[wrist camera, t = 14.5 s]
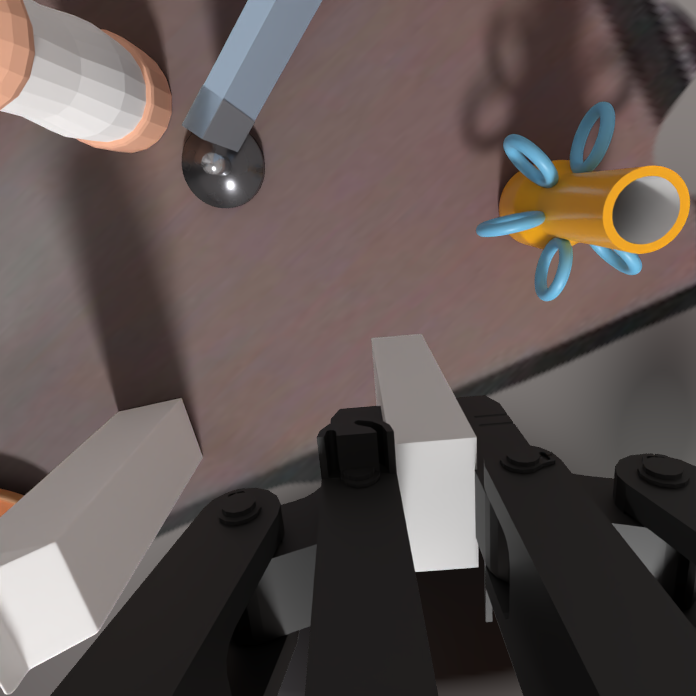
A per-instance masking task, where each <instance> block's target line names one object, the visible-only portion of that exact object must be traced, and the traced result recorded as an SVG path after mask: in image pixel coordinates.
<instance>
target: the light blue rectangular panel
mask: <svg viewBox="0 0 696 696" xmlns="http://www.w3.org/2000/svg"><path fill="white" fill-rule="evenodd" d="M321 2H322V0H248V1H247V3H246V5H245V7H244V9H243V11H242V13H241V15H240V16H239V18H238V20H237V22H236V24H235V26H234V28H233V30H232V32H231V34H230V36H229V38H228V39H227V41H226V43H225V45H224V47H223V49H222V51H221V53H220V55H219V57H218V59H217V61H216V62H215V64H214V66H213V68H212V70H211V72H210V74H209V76H208V78H207V80H206V82H205V83H204V85H202V87H201V89H200V91H199V93H198V95H197V97H196V99H195V101H194V102H193V104H192V106H191V108H190V110H189V112H188V114H187V116H186V118H185V120H184V122H183V124H182V126H184V127H185V128H187V129H188V130H190V131H191V132H193V133H194V134H195V135H197V136H198V137H200V138H201V139H203V140H206V141H209V142H211V143H214V144H217V145H220V146H222V147H225V148H228V149H231V150H233V151H236V152H238V151H239V149H240V148H241V146H242V144H243V142H244V140H245V139H246V137H247V135H248V133H249V132H250V130H251V128H252V126H253V124H254V123H255V119H256V118H257V116H258V114H259V112H260V110H261V109H262V107H263V105H264V103H265V101H266V100H267V98H268V96H269V94H270V93H271V91H272V89H273V87H274V85H275V84H276V82H277V80H278V78H279V77H280V75H281V73H282V71H283V69H284V68H285V66H286V64H287V62H288V60H289V59H290V57H291V55H292V53H293V52H294V50H295V48H296V46H297V44H298V43H299V41H300V39H301V37H302V36H303V34H304V32H305V30H306V28H307V27H308V25H309V23H310V21H311V19H312V18H313V16H314V14H315V12H316V11H317V9H318V7H319V5H320V3H321Z"/></svg>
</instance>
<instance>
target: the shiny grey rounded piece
mask: <svg viewBox="0 0 696 696" xmlns="http://www.w3.org/2000/svg"><path fill="white" fill-rule="evenodd" d="M182 170H183V175H184V178H185V180H186V182H187V184H188V186H189V188H190V189H191V191H192V192H193V193H194V194H195V195H196V196H197V197H198V198H199V199H201V200H202V201H203V202H205V203H207V204H209V205H211V206H214V207H219V208H233V207H238V206H241V205H243V204H245V203H247V202H248V201H250V200H251V199H252V198H253V197H254V196H255V195H256V194H257V192H258V191H259V189H260V187H261V185H262V183H263V179H264V175H265V163H264V157H263V154H262V151H261V149H260V147H259V145H258V143H257V142H256V141H255V139H254V138H253V137H252V136H251V135H250V134H249V133H248V135H247V137H246V139H245V140H244V142H243V144H242V146H241V148H240V149H239V151H238V152H236V151H233V150H231V149H228V148H225V147H222V146H220V145H217V144H214V143H211V142H209V141H206V140H203V139H201V138H200V137H198V136H197V135H195V134H194V133H192V134H191V136H190V137H189V138H188V140H187V142H186V144H185V146H184V149H183V153H182Z"/></svg>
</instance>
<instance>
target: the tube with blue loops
mask: <svg viewBox="0 0 696 696" xmlns="http://www.w3.org/2000/svg"><path fill="white" fill-rule="evenodd" d="M599 117H600V128H599V133H598V136H597V139H596V142H595V144H594V147H593V149H592V151H591V153H590V154H589V156H588V157H587V159H586V160H585V161H584V162H583V151H584V146H585V143H586V140H587V137H588V135H589V132H590V130H591V128H592V127H593V125H594V123H595V122H596V121H597V119H598V118H599ZM614 126H615V111H614V108H613V106H612V105H611V104H610V103H608V102H599V103H597V104H595V105H594V106H593V107H592V108H591V109H590V110H589V111H588V112H587V113H586V115H585V116H584V118H583V119H582V121H581V123H580V125H579V127H578V129H577V131H576V134H575V136H574V139H573V143H572V147H571V152H570V160H554V161H551V160H550V159H549V158H548V156H547V155H546V154H545V153H544V152H543V151H542V150H541V149H540V148H539V147H538V146H536V145H535V144H534V143H533V142H531V141H530V140H528V139H527V138H525V137H523V136H521V135H517V134H511V135H508V136H507V137H506V138H505V140H504V142H503V147H504V150H505V153H506V155H507V156H508V158H509V159H510V161H511V162H512V163H513V164H514V165H515V167H516V168H517V169H518V170H519V171H518V172H517V173H516V174H515V175H514V176H513V177H512V178H511V179H510V180H509V181H508V183H507V184H506V186H505V187H504V189H503V192H502V194H501V197H500V202H499V216H500V217H498V218H494V219H491V220H488V221H485V222H483V223H481V224H479V225H478V226H477V228H476V232H477V234H478V235H479V236H482V237H493V236H501V235H507V234H509V235H510V236H511V237H512V238H513V239H515V240H516V241H518V242H520V243H523V244H525V245H529V246H532V247H536V248H539V249H543V251H542V253H541V256H540V258H539V261H538V264H537V268H536V273H535V290H536V293H537V295H538V297H539V298H540V299H541V300H543V301H550V300H553V299H555V298H556V297H557V296H558V295H559V294H560V293H561V291H562V290H563V288H564V287H565V285H566V283H567V280H568V278H569V275H570V271H571V267H572V260H573V251H572V246H573V245H575V244H577V243H578V242H581V243H586V244H589V245H590V246H591V247H592V248H593V250H594V251H595V252H596V253H597V254H598V255H599V256H600V257H601V258H603V259H604V260H605V261H606V262H607V263H609V264H610V265H611V266H613V267H614V268H616V269H617V270H619V271H621V272H623V273H625V274H629V275H635V274H637V273H639V272H640V271H641V269H642V263H641V260H640V258H639V256H638V255H637V254H643V253H649V252H653V251H655V250H658V249H660V248H662V247H664V246H665V245H667V244H668V243H669V242H671V241H672V240H673V239H674V238H675V237H676V236H677V235H678V233H679V232H680V231H681V229H682V228H683V226H684V224H685V222H686V219H687V217H688V213H689V208H690V197H689V192H688V189H687V186H686V185H685V182H684V181H683V179H682V178H681V177H680V176H679V175H678V174H677V173H675V172H674V171H672V170H670V169H668V168H665V167H661V166H644V167H634V168H624V169H615V170H605V171H595V172H592V171H593V170H594V169H595V168H596V167H597V166H598V165H599V163H600V162H601V160H602V159H603V157H604V155H605V153H606V151H607V149H608V147H609V144H610V142H611V139H612V135H613V131H614ZM522 153H523V154H524V155H525V156H526V157H528V158H529V159H530V160H531V161H532V162H533V163H534V164H533V165H532V164H531V163H530V162H529V161H528V160H527V159H526V158H525V157H524V156H523V154H522ZM611 249H613V250H614V251H615V252H616V253H617V254H618V255H617V254H616V253H615V252H614V251H612V250H611ZM557 250H559V264H558V269H557V272H556V275H555V278H554V280H553V282H552V284H551V285H550V287H549V288H547V273H548V268H549V265H550V262H551V260H552V257H553V256H554V254H555V252H556V251H557Z"/></svg>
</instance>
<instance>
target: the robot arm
mask: <svg viewBox="0 0 696 696" xmlns="http://www.w3.org/2000/svg"><path fill="white" fill-rule="evenodd" d="M371 340H372V353H373V365H374V378H375V391H376V404H377V406H370V407H359V408H347V409H340V410H339V411H338V412H337V413H336V414H335V415H334V416H333V417H332V418H331V424H329V425H327V426H326V427H324V428H323V429H322V430H320V432H319V434H318V436H317V443H318V452H319V460H320V468H321V477H322V484H321V487H320V488H319V489H318V490H317V491H315V492H314V493H312V494H311V495H309V496H307V497H305V498H302V499H299V500H297V501H294V502H290V503H287V504H283V505H281V504H280V502H279V499H278V497H277V496H276V495H275V494H273V493H272V492H270V491H269V490H264V489H259V488H247V489H245V488H243V489H237V490H233V491H230V492H228V493H226V494H224V495H222V496H220V497H218V498H216V499H214V500H212V501H211V502H210V503H209V504H208V505H207V506H206V507H205V508H203V510H202V511H201V512H200V513H199V515H198V516H197V517H196V518H195V519H194V521H193V522H192V523H191V524H190V526H189V527H188V528H187V529H186V530H185V532H184V533H183V534H182V535H181V537H180V538H179V539H178V540H177V541H176V543H175V544H174V545H173V546H172V548H171V549H170V550H169V551H168V553H167V554H166V555H165V556H164V557H163V559H162V560H161V561H160V562H159V563H158V565H157V566H156V567H155V568H154V570H153V571H152V572H151V573H150V574H149V576H148V577H147V578H146V579H145V581H144V582H143V583H142V584H141V585H140V587H139V588H138V589H137V590H136V591H135V593H134V594H133V595H132V596H131V598H130V599H129V600H128V601H127V602H126V604H125V605H124V606H123V607H122V609H121V610H120V611H119V612H118V614H117V615H116V616H115V617H114V618H113V620H112V621H111V622H110V623H109V624H108V626H107V627H106V628H105V629H104V631H103V632H102V633H101V634H100V636H99V637H98V638H97V639H96V640H95V642H94V643H93V644H92V645H91V647H90V648H89V649H88V650H87V651H86V653H85V654H84V655H83V656H82V658H81V659H80V660H79V661H78V662H77V664H76V665H75V666H74V667H73V668H72V670H71V671H70V672H69V673H68V675H67V676H66V677H65V678H64V679H63V681H62V682H61V683H60V684H59V686H58V687H57V688H56V689H55V690H54V692H53V693H52V694H51V696H277V695H278V692H279V689H280V687H281V685H282V682H283V679H284V677H285V674H286V671H287V669H288V666H289V663H290V661H291V658H292V655H293V652H294V650H295V647H296V645H297V642H298V636H299V630H300V629H303V628H306V627H309V626H310V637H309V650H308V663H307V676H306V689H305V696H438V692H437V686H436V681H435V676H434V670H433V665H432V659H431V654H430V649H429V644H428V639H427V633H426V627H425V623H424V617H423V612H422V606H421V601H420V595H419V590H418V584H417V579H416V574H415V572H420V571H434V570H447V569H460V568H473V567H478V545H479V547H480V550H481V553H482V555H483V558H484V561H485V616H486V622H492V610H494V613H495V616H496V619H497V622H498V624H499V627H500V630H501V633H502V636H503V638H504V642H505V645H506V647H507V650H508V653H509V656H510V659H511V662H512V665H513V667H514V670H515V673H516V676H517V679H518V682H519V685H520V687H521V690H522V693H523V696H696V466H693V465H691V464H689V463H686V462H684V461H682V460H678V459H674V458H670V457H668V456H665V455H660V454H655V455H653V454H640V455H631V456H628V457H626V458H623V459H621V460H619V462H618V464H617V465H616V466H615V475H614V479H612V478H602V477H592V476H584V475H576V474H572V473H571V472H570V471H569V469H568V468H567V467H566V466H565V464H564V463H563V462H562V461H561V460H560V459H559V458H558V457H557V456H556V455H554V454H553V453H552V452H549V451H547V450H545V449H542V448H539V447H535V446H530V445H529V444H528V442H527V441H526V439H525V438H524V437H523V435H522V434H521V433H520V431H519V430H518V428H517V427H516V425H515V424H513V421H512V420H511V419H510V417H509V416H508V415H507V413H506V412H505V410H504V409H503V408H502V406H501V405H500V404H499V403H498V402H496V401H494V400H492V399H490V398H489V397H487V396H485V395H483V396H471V397H459V398H455V396H454V394H453V392H452V390H451V388H450V386H449V385H448V383H447V381H446V379H445V377H444V375H443V373H442V371H441V370H440V368H439V366H438V364H437V362H436V360H435V358H434V356H433V355H432V353H431V351H430V349H429V347H428V345H427V343H426V341H425V339H424V338H423V336H422V334H414V335H402V336H391V337H379V338H371Z"/></svg>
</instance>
